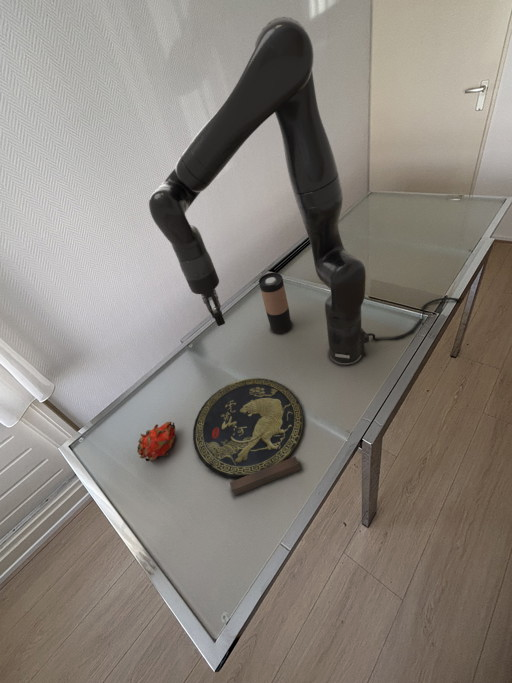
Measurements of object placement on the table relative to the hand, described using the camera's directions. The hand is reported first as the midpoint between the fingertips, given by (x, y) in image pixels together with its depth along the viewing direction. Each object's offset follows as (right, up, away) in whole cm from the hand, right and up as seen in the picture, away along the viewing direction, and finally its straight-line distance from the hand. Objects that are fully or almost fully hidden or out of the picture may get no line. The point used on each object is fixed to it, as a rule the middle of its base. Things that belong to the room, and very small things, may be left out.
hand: (221, 323), depth 89 cm
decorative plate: (+7, -28, -3) cm, 29 cm away
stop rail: (+12, -37, -15) cm, 42 cm away
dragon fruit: (-15, -34, -2) cm, 37 cm away
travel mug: (+19, 0, +23) cm, 30 cm away
